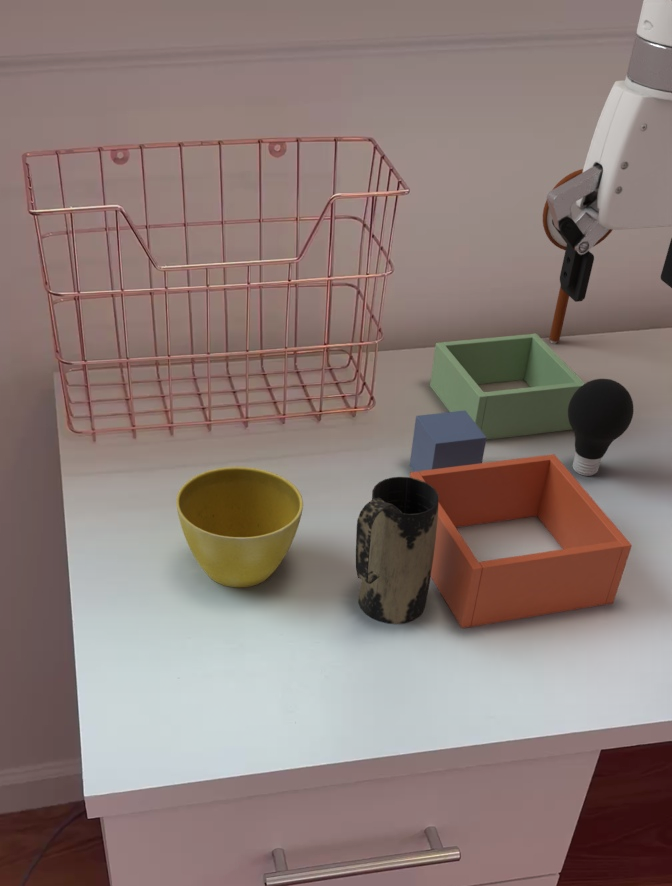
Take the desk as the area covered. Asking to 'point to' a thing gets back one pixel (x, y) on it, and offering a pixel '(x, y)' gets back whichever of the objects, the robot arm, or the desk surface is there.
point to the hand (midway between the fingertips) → (622, 290)
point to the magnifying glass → (559, 242)
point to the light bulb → (597, 421)
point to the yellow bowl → (239, 522)
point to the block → (446, 441)
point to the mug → (396, 549)
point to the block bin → (528, 576)
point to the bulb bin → (500, 362)
